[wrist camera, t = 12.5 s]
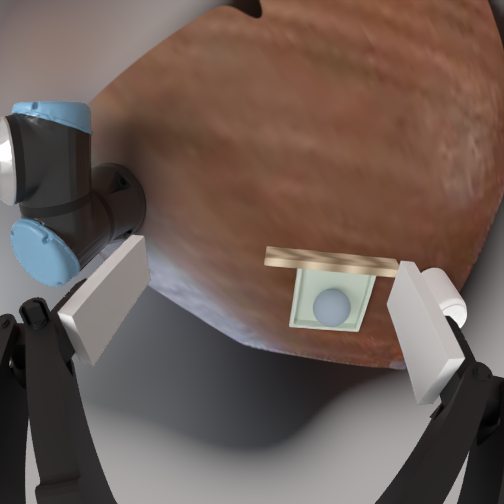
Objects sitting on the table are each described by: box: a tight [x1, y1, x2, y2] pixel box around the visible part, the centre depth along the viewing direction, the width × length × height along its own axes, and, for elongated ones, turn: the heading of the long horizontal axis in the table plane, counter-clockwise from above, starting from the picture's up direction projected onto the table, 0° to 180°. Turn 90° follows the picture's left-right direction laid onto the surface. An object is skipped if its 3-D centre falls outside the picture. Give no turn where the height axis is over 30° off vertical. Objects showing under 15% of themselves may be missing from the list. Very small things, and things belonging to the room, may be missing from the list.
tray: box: [289, 268, 376, 332], centre depth 56 cm, size 14×14×2 cm
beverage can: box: [421, 268, 467, 328], centre depth 47 cm, size 8×8×12 cm
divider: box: [265, 246, 399, 277], centre depth 51 cm, size 24×2×4 cm, turn 88°
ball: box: [313, 289, 351, 327], centre depth 53 cm, size 7×7×7 cm
